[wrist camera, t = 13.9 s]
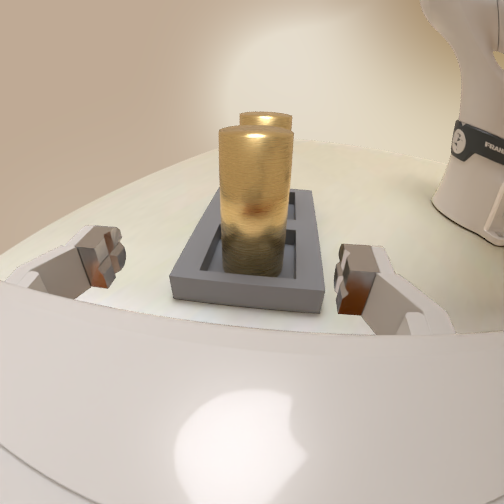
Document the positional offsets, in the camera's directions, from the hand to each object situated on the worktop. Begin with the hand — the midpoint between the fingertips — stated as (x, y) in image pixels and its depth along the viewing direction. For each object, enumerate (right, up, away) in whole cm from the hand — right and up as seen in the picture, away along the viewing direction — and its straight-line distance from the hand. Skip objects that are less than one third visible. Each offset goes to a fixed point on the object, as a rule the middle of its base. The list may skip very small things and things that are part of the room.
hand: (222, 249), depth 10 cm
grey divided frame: (+2, +1, +18) cm, 19 cm away
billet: (+1, -1, +14) cm, 14 cm away
